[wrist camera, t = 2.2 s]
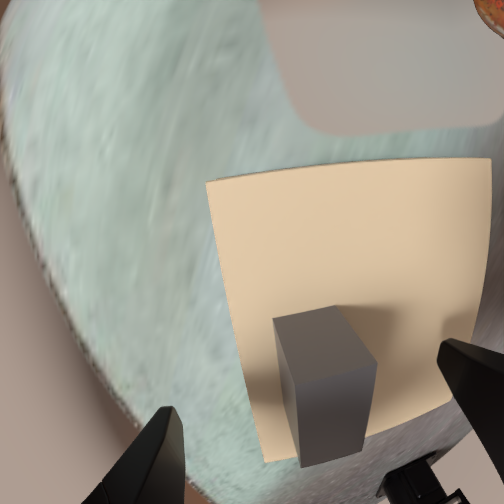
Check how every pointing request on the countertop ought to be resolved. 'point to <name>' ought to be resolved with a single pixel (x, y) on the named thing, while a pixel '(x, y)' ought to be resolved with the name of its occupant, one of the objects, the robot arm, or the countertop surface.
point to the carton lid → (349, 292)
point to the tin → (492, 14)
